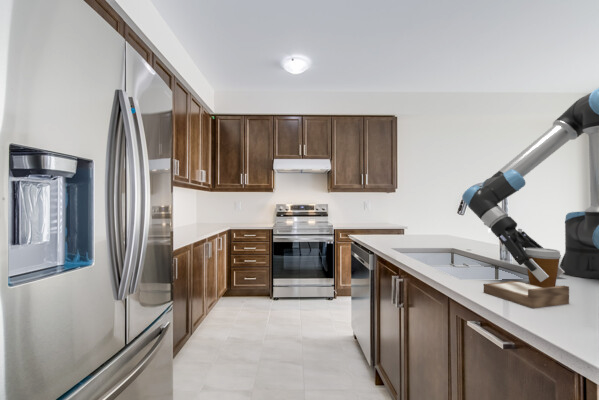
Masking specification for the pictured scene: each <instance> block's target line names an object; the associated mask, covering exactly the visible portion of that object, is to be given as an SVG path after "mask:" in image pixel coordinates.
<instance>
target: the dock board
mask: <svg viewBox="0 0 599 400" xmlns="http://www.w3.org/2000/svg"><path fill="white" fill-rule="evenodd" d="M483 293H485V294H488V295H491V296H494V297H497V298H500V299H503V300H506V301H508V302H512V303H515V304H518V305H520V306H525V307H527V308H531V309H538V308H544V307H545V308H546V307H553V306H561V305H569V304H570V286H568V285H558V286H556V285H555V287H546V288H543V287H539V286H535V285H531V284H529V283H527V282H522V281H519V280H512V281H502V282H501V281H500V282H490V283H489V282H488V283H484V284H483Z"/></svg>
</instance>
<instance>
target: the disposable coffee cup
mask: <svg viewBox="0 0 599 400" xmlns="http://www.w3.org/2000/svg"><path fill="white" fill-rule="evenodd" d="M524 250H525V252H526V254H527V255H528V257H529V259H533V260H534V262H535V263H536V264H537V265H538V266H539V267H540V268H541V269H542V270H543V271H544V272H545V273H546V274H547V275H548V276H549V277H548V278H546V279H545V280H543V281H542V282H540V281H539V280H538V279H537V278H536V277H535V276H534V275H533V273H532V272H531V271H530V270H529V269H528V268H527V267H526V270H527V275H528V284H531V285H535V286H539V287H543V288H546V287H556V284H557V278H558V277H557V272H558V266H560V259H561V257H562V254H561V251H560V250H558V249H552V248H546V247H545V248H544V247H543V248H526V249H525V248H524ZM529 259H528V260H529Z"/></svg>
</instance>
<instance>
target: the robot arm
mask: <svg viewBox="0 0 599 400" xmlns="http://www.w3.org/2000/svg"><path fill="white" fill-rule="evenodd" d="M584 133H585V135H587V136H588V158H589V159H588V160H589V162H588V163H589V166H588V167H589V193H590V194H589V195H590V205H589V207H588V208H586V209H584V211H583V210H581V211H571V212H568V213H566V215H565V218H564V220H565V221H564V224H565V225H564V227H565V228H564V229H565V230H564V233H565V234H564V236H565V237H564V238H565V239H564V240H565V242H564V244H565V249H564V250H565V252H564V254H563V256H562V259H561V261H560V263H559V265H558V272H557V278H559V277H560V276H561V275H563V274H564V275H567V276H573V277H576V278H577V277H578V278H585V279H598V280H599V87H598V88H596V89H594V90H593V91H592V92H590V93H588V94H586V95H585V96H582V97H580V98H578V99H577V100H576V101H574V103H572V104H571V105H570V106H569V107H568V108H567V109H566V110H565V111H564V112H563V113H562V114H561V115H560V116H559V117H557V119H555V120H554V121H553V122H552V126H551V127H550V128H548V130H547V131H545V132H544V133H542V135H540V136H539V137H538V138H537V139H536V140H534V141H533V142H532V143H531V144H529V145H528V146H527V147H526V148H525V149H523V150H522V151H521V152H520V153H519V154H517V155H516V156H515V157H513V158H512V159H511V160H509V162H508V163H506V164H505V165H504V166H503V167H501V168H500V169H499V170H498V171H496V172H495V173H494V174H493V175H492V176H491V177H489V178H486V179H485V180H484V181H483V183H482V185H481V186H479V185H473V186H470V187H469V188H468V189H466V190H465V191H464V193H463V194H462V201H463V202H464V203H465V204H466V206H467V207H468V208H469V209H470V210H471V211H472V212H473V213H474V214H475V215H476V217H478V219H480V220H481V221H482V222H483V225H484V226H486V227H487V228H488V229H490V231H491V232H492V234H493V235H495V236H496V238H498V240H499V241H500V242H501V243H502V244H503V245H504V246H505V249H507V251H508V252H509V254H510V255H511V257H512V258H513V259H514V261H515V262H517V264H518V265H520V266H522V265H523V266H525V267H526V269H527V268H528V269H529V270H530V271H531V272H532V273H533V275H534V276H535V277H536V278H537V279H538V280H539V281H540V282H542V281H543V280H545V279H546V278H548V277H549V276H548V275H547V274H546V273H545V272H544V271H543V270H542V269H541V268H540V267H539V266H538V265H537V264H536V263H535V262H534V260H533V259H529V257H528V255H527V254H526V252H525V249H526V248H544V247H543V246H542V245H540V244H539V243H538V242H537V241H535V240H534V239H533V238H532V237H530V236H529V235H528V234H527V233H526V232H525V231H524V230H523V231H521V232H520V231H519V230H518V229H516V228H517V227H518V222H516V221H515V220H514V218H512V217H511V216H509V214H508V212H506V211H505V210H504V209H503V208H502V207H501V206H500V205H499V204H500V203H501V202H503V201H504V200H506V199H507V198H509V197H510V196H512V195H514V194H515V193H517V192H519V191H520V190H521V189H523V187H525V186H526V180H525V177H526V175H528V174H529V173H531V171H533V170H534V169H535V168H537V167H538V166H539V165H540V164H541V163H543V162H544V161H545V160H546V159H548V158H549V157H550V156H551V155H553V154H554V153H555V152H557V151H558V150H559V149H560V148H561V147H563V146H564V145H565V144H567V143H568V142H569V141H572V140H576V139H577V138H579V137H580V136H582V135H583V134H584ZM528 259H529V260H528Z"/></svg>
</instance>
